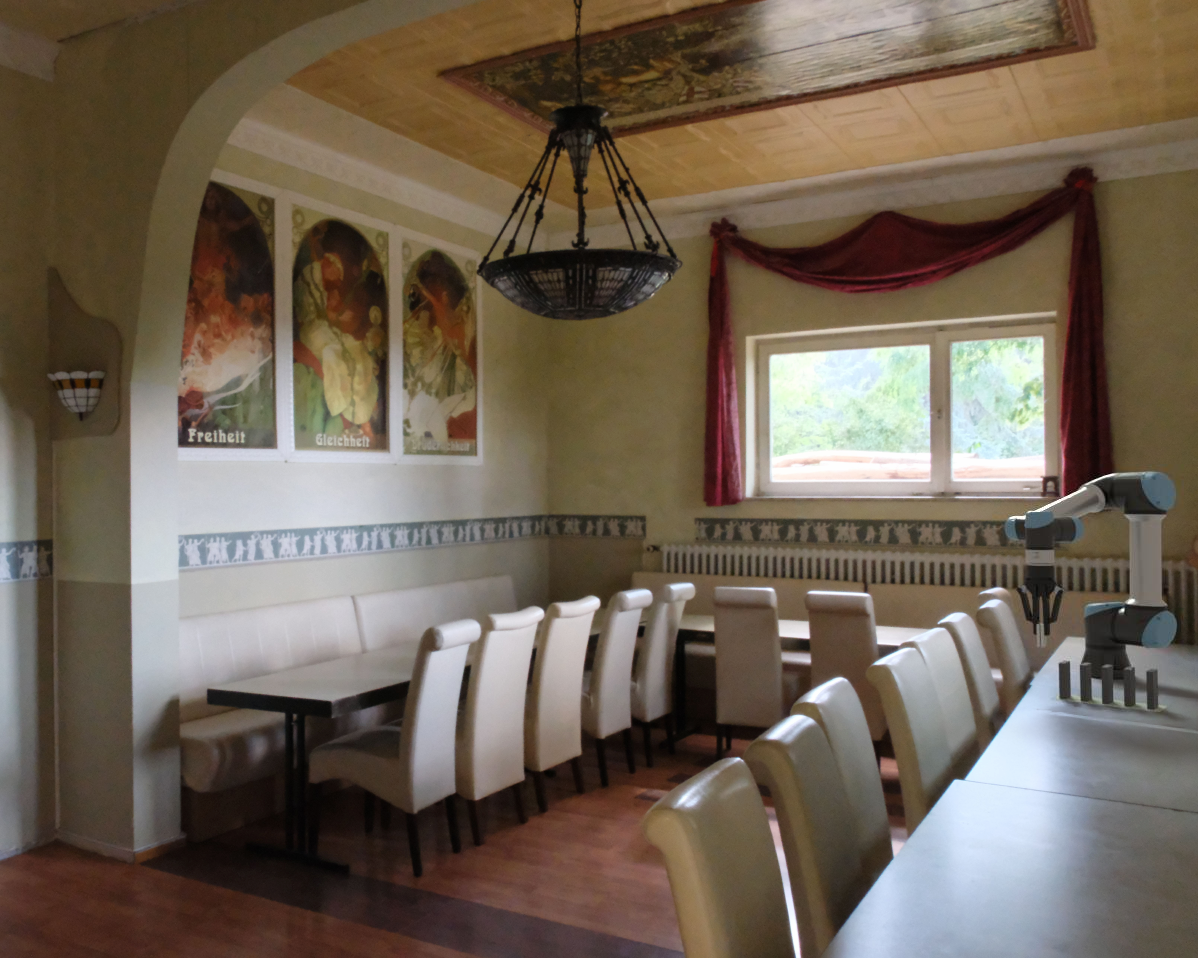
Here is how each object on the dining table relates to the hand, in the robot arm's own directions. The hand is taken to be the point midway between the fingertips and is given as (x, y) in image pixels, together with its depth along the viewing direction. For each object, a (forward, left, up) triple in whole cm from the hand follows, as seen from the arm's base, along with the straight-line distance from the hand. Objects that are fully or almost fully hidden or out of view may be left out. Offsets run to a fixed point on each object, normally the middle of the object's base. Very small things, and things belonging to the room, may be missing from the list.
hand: (1041, 646), depth 279 cm
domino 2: (0, +12, -14) cm, 18 cm away
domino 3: (0, +17, -14) cm, 22 cm away
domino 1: (0, +6, -14) cm, 15 cm away
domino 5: (0, +28, -14) cm, 31 cm away
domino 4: (0, +23, -14) cm, 26 cm away
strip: (0, +17, -14) cm, 22 cm away
